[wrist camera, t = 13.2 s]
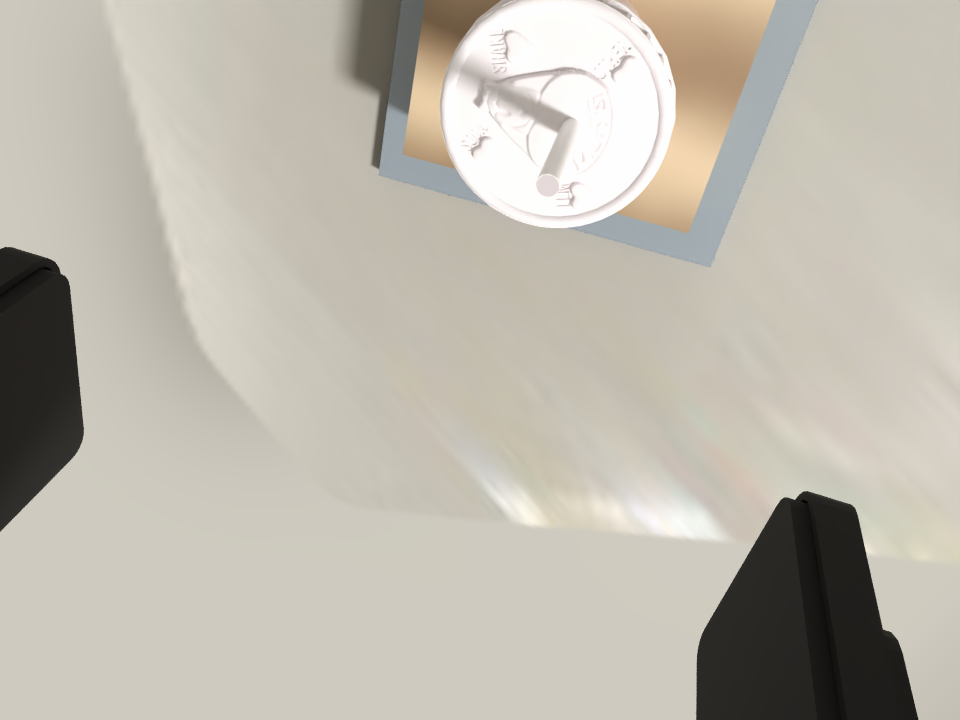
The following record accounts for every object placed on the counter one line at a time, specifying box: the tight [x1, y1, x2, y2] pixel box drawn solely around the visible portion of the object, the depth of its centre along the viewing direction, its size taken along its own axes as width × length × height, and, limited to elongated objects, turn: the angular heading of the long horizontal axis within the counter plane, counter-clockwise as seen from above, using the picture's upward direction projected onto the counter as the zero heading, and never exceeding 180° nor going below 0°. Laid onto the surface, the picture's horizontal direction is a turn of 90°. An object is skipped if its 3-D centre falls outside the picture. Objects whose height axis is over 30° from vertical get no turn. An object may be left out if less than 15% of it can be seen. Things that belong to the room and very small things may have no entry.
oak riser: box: [403, 0, 776, 233], centre depth 32 cm, size 12×12×4 cm
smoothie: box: [440, 0, 676, 228], centre depth 24 cm, size 6×6×14 cm
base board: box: [379, 0, 818, 267], centre depth 34 cm, size 18×16×1 cm
